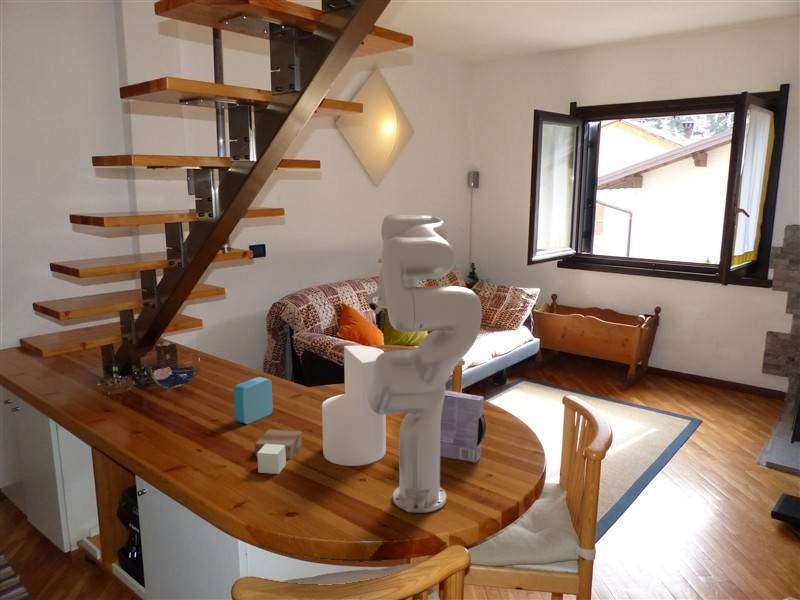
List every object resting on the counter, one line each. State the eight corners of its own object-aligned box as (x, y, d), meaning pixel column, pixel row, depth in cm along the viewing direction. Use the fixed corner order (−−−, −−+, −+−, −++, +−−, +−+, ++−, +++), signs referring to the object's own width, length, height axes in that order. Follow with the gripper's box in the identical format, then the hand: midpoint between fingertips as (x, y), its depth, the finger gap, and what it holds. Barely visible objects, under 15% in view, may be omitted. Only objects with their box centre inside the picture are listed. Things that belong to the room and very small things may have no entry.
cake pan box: (485, 456, 165) (487, 394, 161) (480, 464, 160) (482, 400, 157) (419, 445, 172) (419, 385, 169) (413, 452, 167) (413, 391, 164)
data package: (263, 410, 198) (261, 375, 196) (273, 413, 196) (271, 378, 194) (234, 422, 189) (232, 385, 186) (244, 425, 186) (242, 388, 184)
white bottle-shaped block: (374, 434, 179) (373, 343, 174) (394, 459, 163) (394, 359, 158) (316, 443, 173) (313, 349, 168) (332, 470, 157) (329, 366, 152)
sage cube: (278, 474, 155) (277, 454, 154) (258, 472, 156) (257, 452, 155) (286, 464, 161) (285, 445, 160) (266, 463, 162) (265, 443, 160)
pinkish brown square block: (290, 460, 164) (290, 446, 163) (255, 457, 165) (255, 443, 165) (302, 444, 173) (302, 431, 173) (269, 442, 175) (268, 429, 174)
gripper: (361, 264, 152) (362, 330, 156) (429, 266, 149) (428, 334, 152) (369, 260, 160) (370, 324, 163) (434, 262, 156) (433, 327, 159)
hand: (398, 328), depth 158 cm, fingers open, 9 cm apart
